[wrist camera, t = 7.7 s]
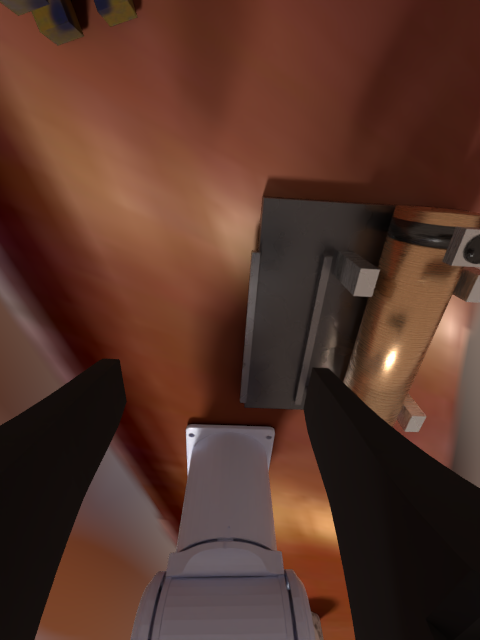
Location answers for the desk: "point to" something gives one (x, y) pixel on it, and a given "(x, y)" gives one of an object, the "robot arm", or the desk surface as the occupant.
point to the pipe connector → (69, 15)
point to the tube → (405, 305)
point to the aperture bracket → (464, 247)
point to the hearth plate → (304, 295)
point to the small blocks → (362, 282)
